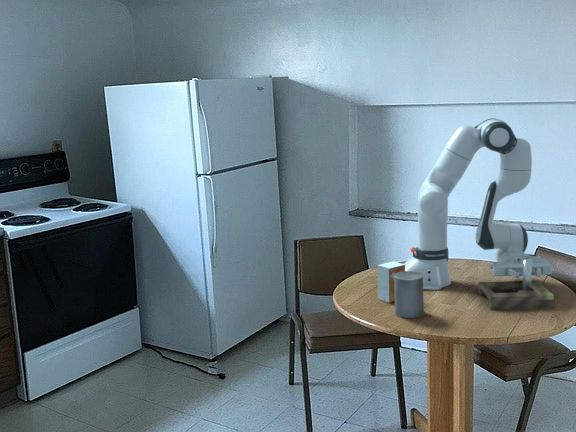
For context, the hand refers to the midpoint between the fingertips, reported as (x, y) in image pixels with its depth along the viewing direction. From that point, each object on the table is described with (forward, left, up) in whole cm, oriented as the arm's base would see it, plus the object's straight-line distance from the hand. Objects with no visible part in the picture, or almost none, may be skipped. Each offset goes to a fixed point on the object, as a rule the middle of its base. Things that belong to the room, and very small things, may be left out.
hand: (528, 274), depth 221 cm
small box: (-47, +7, -10) cm, 48 cm away
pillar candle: (-43, -9, -10) cm, 45 cm away
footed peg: (0, +1, -10) cm, 10 cm away
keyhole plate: (-4, +1, -10) cm, 11 cm away
